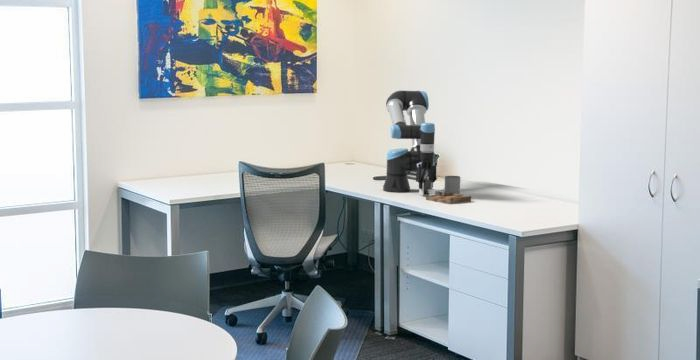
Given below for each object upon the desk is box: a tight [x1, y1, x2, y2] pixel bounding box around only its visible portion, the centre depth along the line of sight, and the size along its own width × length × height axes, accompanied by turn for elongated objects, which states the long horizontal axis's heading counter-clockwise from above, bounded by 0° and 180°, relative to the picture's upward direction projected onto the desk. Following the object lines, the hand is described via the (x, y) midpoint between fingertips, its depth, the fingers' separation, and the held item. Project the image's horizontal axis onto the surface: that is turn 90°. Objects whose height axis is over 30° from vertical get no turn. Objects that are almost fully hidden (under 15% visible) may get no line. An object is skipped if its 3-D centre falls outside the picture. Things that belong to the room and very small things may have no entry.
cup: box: [443, 175, 461, 194], centre depth 489 cm, size 8×8×10 cm
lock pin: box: [423, 178, 445, 196], centre depth 480 cm, size 16×4×8 cm, turn 38°
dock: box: [425, 190, 472, 205], centre depth 469 cm, size 17×16×4 cm
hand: (425, 194), depth 485 cm, fingers open, 5 cm apart
